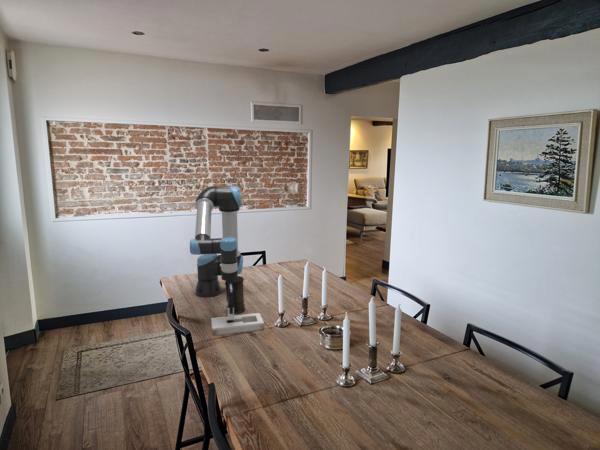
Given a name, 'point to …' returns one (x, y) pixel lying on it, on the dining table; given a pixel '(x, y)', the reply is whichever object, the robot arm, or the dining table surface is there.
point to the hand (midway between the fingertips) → (230, 317)
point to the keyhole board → (237, 324)
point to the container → (238, 295)
